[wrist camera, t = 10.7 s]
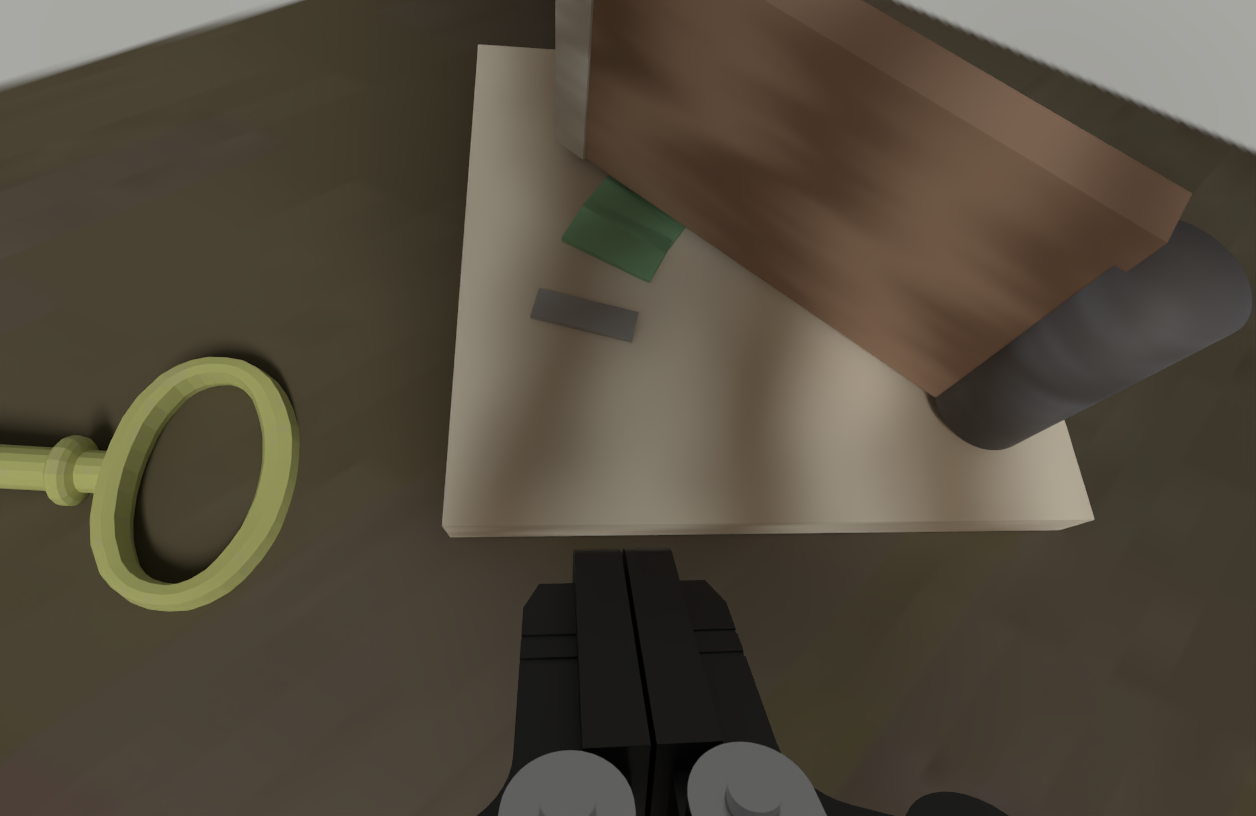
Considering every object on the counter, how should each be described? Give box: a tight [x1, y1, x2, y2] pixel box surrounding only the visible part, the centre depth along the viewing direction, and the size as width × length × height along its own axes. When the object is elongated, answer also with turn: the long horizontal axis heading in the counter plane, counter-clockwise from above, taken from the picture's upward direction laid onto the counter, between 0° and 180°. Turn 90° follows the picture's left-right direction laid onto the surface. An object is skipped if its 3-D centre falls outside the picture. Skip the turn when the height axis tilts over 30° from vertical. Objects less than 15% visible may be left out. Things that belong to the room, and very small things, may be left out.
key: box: [0, 357, 300, 611], centre depth 18 cm, size 7×12×2 cm, turn 108°
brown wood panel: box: [555, 0, 1252, 450], centre depth 18 cm, size 18×3×8 cm, turn 53°
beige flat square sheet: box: [442, 45, 1095, 537], centre depth 23 cm, size 19×18×2 cm
